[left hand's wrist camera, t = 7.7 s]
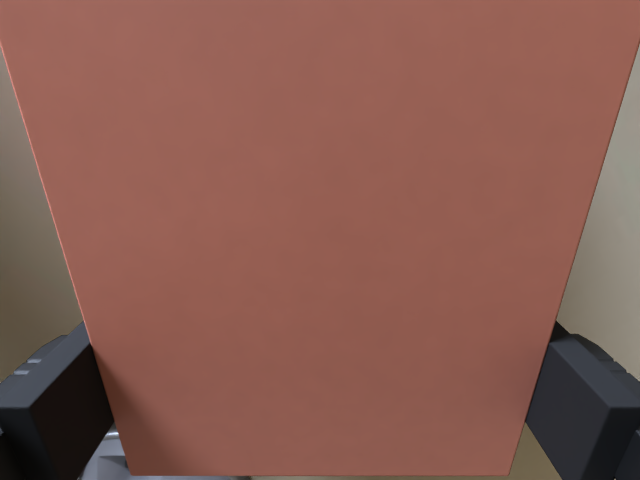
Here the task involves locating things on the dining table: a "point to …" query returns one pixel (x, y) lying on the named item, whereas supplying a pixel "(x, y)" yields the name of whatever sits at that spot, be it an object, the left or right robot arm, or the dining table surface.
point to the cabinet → (319, 216)
